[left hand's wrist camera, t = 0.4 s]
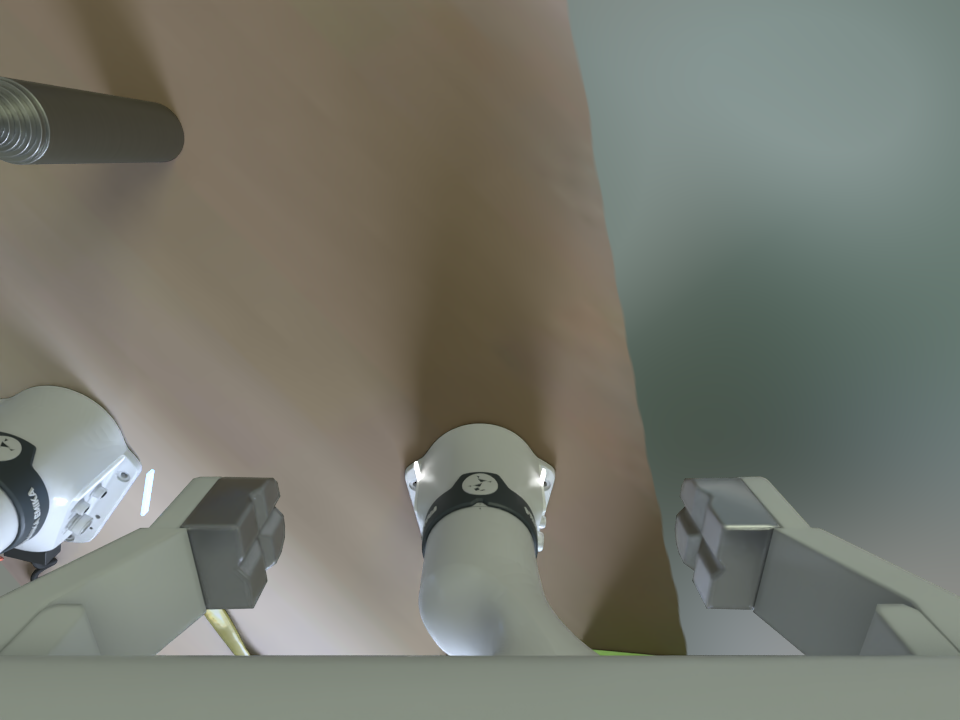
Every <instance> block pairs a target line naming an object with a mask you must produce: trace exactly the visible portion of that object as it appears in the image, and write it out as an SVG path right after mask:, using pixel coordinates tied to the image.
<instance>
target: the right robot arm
mask: <svg viewBox="0 0 960 720" xmlns="http://www.w3.org/2000/svg"><path fill="white" fill-rule="evenodd" d="M141 470H142V465H141V463H140V462H139V460H138V459H137V458H136V456H135V455H134V454H133V453H132V452H131V451H130V450H129V449H128V447H127V445H126V443H125V441H124V438H123V436H122V433H121V431H120V429H119V427H118V425H117V424H116V422H115V421H114V420H113V418H112V417H111V416H110V415H109V414H108V413H107V411H106V410H104V409H103V408H102V407H101V406H100V405H99V404H97V403H96V402H95V401H93V400H92V399H90V398H88V397H87V396H85V395H83V394H81V393H79V392H76V391H74V390H71V389H67V388H63V387H58V386H36V387H32V388H29V389H26V390H24V391H22V392H20V393H18V394H17V395H15V396H13V397H11V398H6V399H0V554H2V553H4V556H7V557H12V558H16V559H20V560H24V561H28V562H31V563H32V564H33V566H34V567H35V568H37V569H36V570H35V571H34V572H33V574H32V576H31V581H33V580H35V579H37V577H38V575H39V574H40V573H41V572H42V571H44V570H45V569H47V568H49V567H51V566H53V565H55V564H56V563H57V559H56V558H54V557H55V556H56V555H57V554H58V553H59V552H60V550H61V543H62V542H63V541H67V542H89V541H91V540H92V539H93V538H94V537H95V536H96V535H97V534H98V533H99V531H100V530H101V528H102V527H103V526H104V524H105V523H106V521H107V520H108V518H109V517H110V515H111V514H112V513H113V511H114V510H115V508H116V507H117V505H118V504H119V503H120V501H121V500H122V498H123V497H124V495H125V494H126V492H127V491H128V490H129V488H130V487H131V485H132V484H133V482H134V481H135V479H136V478H137V477H138V475H139V474H140V472H141ZM125 473H126V474H125ZM153 475H154V470H151V471H150V472H148V473H147V476H146V483H145V490H144V497H143V504H142V511H141V515H143V516H144V515H145V514H146V513H147V511H148V508H149V502H150V495H151V489H152V482H153ZM3 559H4V558H2V557H0V561H2V560H3Z"/></svg>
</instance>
